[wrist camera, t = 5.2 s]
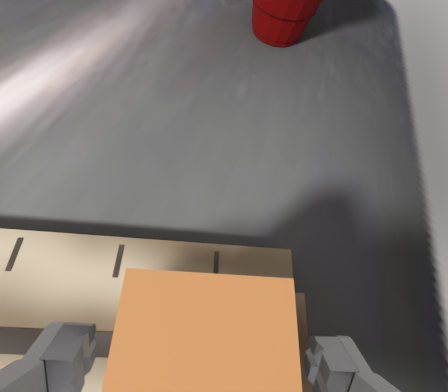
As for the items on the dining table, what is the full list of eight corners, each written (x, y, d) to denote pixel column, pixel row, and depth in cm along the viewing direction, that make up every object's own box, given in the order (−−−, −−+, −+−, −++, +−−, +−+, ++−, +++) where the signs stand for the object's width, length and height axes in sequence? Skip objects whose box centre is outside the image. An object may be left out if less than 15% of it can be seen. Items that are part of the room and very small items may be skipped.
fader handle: (249, 419, 14) (400, 626, 4) (126, 417, 13) (-50, 650, 3) (248, 292, 16) (337, 230, 7) (146, 287, 16) (81, 210, 6)
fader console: (295, 478, 15) (325, 518, 11) (-313, 480, 12) (-489, 531, 9) (282, 256, 20) (299, 242, 17) (-140, 227, 18) (-211, 203, 15)
